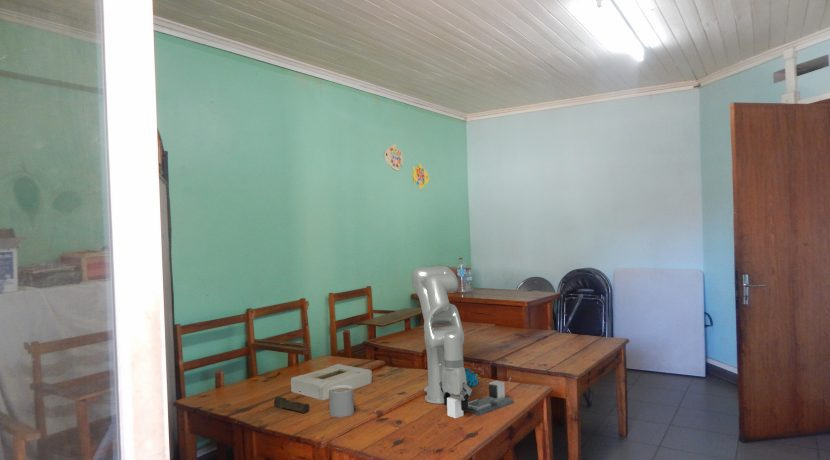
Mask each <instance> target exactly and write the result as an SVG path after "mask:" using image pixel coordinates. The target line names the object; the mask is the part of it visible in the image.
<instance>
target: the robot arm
mask: <svg viewBox="0 0 830 460" xmlns="http://www.w3.org/2000/svg"><path fill="white" fill-rule="evenodd" d="M411 281H412V285H413V288H414V291H415V293H416V295H417V297H418V300H419V304H420V308H421V312H422V317H423V320H424V321H423V330H424V331H423V332H424V334H423V335H424V343H425V349H426V362H427V364H426V365H427V385H426V386H425V387H424V389H423V391H424V392H426V395H425V396H424V400H425V401H426V402H428V403H430V404H439V405H440V404H441V405H442V404H443V405H444V406H446V407H447V398H448V397H451V396H459V397H461V398H462V400H461V410H462V411H463V412H465V410H467V409H468V402H469V399H470V397H471V395H472V392H473V390H472V388H471V386H469V384H468V382H467V380H466V373H465V369H464V368H465V367H464V365H465V364H464V346H463V345H464V343H465V333H464V329H463V324H462V320H461V317H460V312H459V310H458V308H457V306H456V305H455V304H452V303H450V300H449V297H448V293H454V292H456V291H457V290H458V287H459V281H458V277H457V276H456V274H455V272H454V271H453V270H452V269H450V267H448V266H447V265H436V266H422V267H421V266H420V267H417V268H415V269H413V271H412V273H411Z"/></svg>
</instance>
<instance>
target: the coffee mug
mask: <svg viewBox="0 0 830 460" xmlns="http://www.w3.org/2000/svg"><path fill="white" fill-rule="evenodd" d="M354 399H355V398H354V389H353V387H352V386H348V385H339V386H334V387H331V388H330V389H329V398H328V403H329V404H328V405H329V409H328V410H329V415H330V417H333V418H345V417H349V416H352V415H353V414H355V405H354V404H355V403H354V402H355V400H354Z"/></svg>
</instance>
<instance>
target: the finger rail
mask: <svg viewBox="0 0 830 460" xmlns="http://www.w3.org/2000/svg"><path fill="white" fill-rule="evenodd" d="M505 390H506V389H505V382H504V381H501V380H493V381H491V382H489V383H488V396H485V397H483V398H480V399H474V400H470V401H468V409H467V410H464V412H468V413H471V414H473V415H477V416H482V415H485V414H487V413H491V412H493V411H496V410H499V409H501V408H504V407H506V406H509V405H512V404H514V398H510V397H506V394H505Z"/></svg>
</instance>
